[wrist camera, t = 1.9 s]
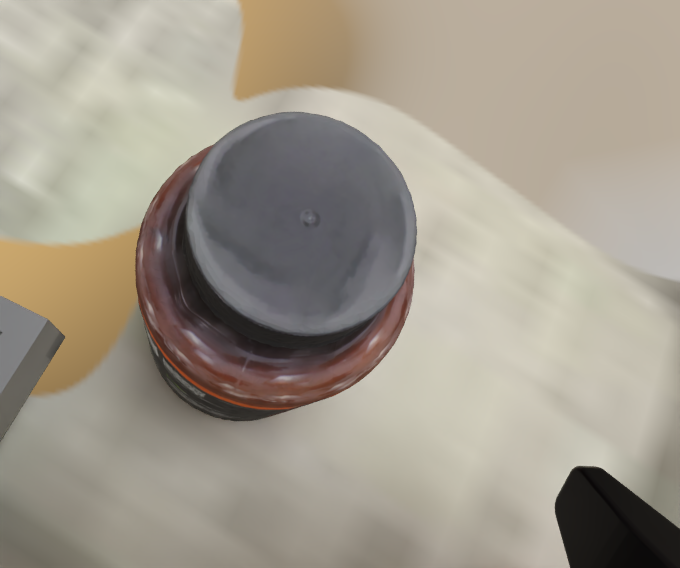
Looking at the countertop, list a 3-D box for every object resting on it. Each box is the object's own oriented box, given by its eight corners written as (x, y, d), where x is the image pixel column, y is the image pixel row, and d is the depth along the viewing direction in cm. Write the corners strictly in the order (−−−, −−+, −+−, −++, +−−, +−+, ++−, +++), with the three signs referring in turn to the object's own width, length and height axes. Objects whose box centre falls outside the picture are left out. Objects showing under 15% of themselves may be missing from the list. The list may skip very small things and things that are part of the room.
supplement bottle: (341, 265, 23) (493, 109, 12) (314, 436, 21) (461, 430, 10) (171, 226, 22) (172, 15, 11) (127, 404, 20) (79, 361, 9)
